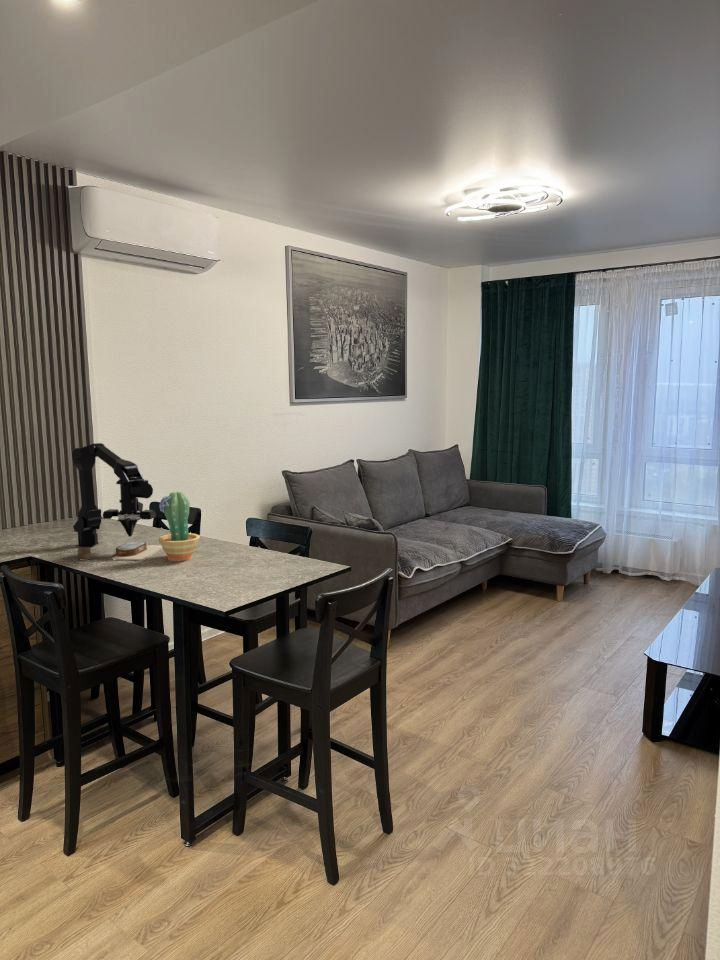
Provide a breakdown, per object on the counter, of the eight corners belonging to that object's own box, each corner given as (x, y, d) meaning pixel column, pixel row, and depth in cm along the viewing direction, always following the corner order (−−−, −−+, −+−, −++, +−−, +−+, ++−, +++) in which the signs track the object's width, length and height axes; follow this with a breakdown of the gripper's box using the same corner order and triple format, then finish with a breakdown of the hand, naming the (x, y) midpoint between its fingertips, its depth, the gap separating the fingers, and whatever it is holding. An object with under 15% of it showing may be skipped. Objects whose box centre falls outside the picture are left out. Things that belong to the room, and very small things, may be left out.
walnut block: (77, 560, 243) (77, 550, 243) (79, 558, 247) (78, 547, 246) (89, 560, 244) (89, 549, 244) (90, 557, 248) (90, 547, 247)
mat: (111, 560, 244) (111, 558, 244) (135, 546, 266) (135, 545, 265) (143, 560, 243) (143, 559, 243) (165, 547, 265) (165, 545, 265)
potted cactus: (167, 552, 255) (164, 489, 252) (206, 553, 254) (204, 489, 251) (152, 563, 240) (149, 495, 237) (194, 563, 239) (192, 495, 236)
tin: (111, 556, 247) (132, 558, 246) (111, 547, 247) (132, 550, 246) (130, 547, 262) (150, 549, 261) (130, 539, 261) (150, 541, 260)
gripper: (160, 493, 259) (161, 532, 261) (114, 492, 260) (115, 531, 262) (149, 497, 248) (150, 538, 250) (101, 497, 249) (103, 537, 251)
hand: (130, 536), depth 254 cm, fingers closed
